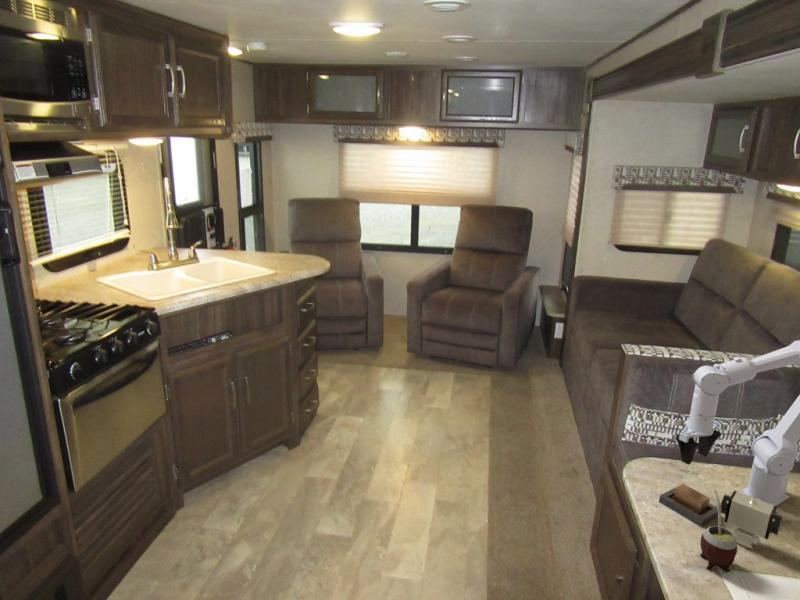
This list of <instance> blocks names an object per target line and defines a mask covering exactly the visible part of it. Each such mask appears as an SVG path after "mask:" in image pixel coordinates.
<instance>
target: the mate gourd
mask: <svg viewBox="0 0 800 600" xmlns="http://www.w3.org/2000/svg"><path fill="white" fill-rule="evenodd" d="M717 492H718V491H717V490H714V491H713V493H714V496H715V499H716V503H717V506H716V507H717V510H718V517H717V519H718V520H717V525H713V526H712V525H711V526H708V527H707V528H706V529H704V530H703V531H702V534H701V535H700V536H701V537H700V543H699V544H700V550H701V553H700V554H699V555H700V558H702V559H704V560H705V561H707V564H708V565H707V566H706V567H705V569H706V570H707V571H711V570H713V568H715V567H717V568H719V569H721V570H722V571H724V572H726V573H727V572H729V573H730V571H731V569H730V567H731V566H732V564H733V563H734V561H735V559H736V555H737V553H738V543H737V541H736V538H735V537H734V535H733V534H732V531H730V530H728V529H726V528H725V527H722V513H721V501H720V497H719V495H718V493H717Z"/></svg>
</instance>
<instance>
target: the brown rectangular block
mask: <svg viewBox="0 0 800 600" xmlns="http://www.w3.org/2000/svg"><path fill="white" fill-rule="evenodd" d="M674 488H675V493H674V498H673V500H674V501H676V502H678V503H679V504H681V505H683V506H685V507H686V508H688V509H690V510H691V511H693V512H695V513H697V514H698V515H700V516H701V515H703V514H704V513H706V512H707V510H708V505H709V503H710V497H709V496H707V495H705V494H703V493H701V492H699V491H697V490H695V489H694V488H692V487H690V486H688V485H687V484H685V483H682V484H681V485H678V486H676V487H674Z"/></svg>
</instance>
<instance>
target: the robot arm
mask: <svg viewBox="0 0 800 600" xmlns="http://www.w3.org/2000/svg"><path fill="white" fill-rule="evenodd" d="M787 366H796V367H800V339H799V340H794V341H792V342H791V343H790V344H789V345H788V346H785V347H782V348H779V349H776V350H774V351H770V352H768V353H765V354H763V355H760V356H757V357H754V358H751V359H750V358H746V357H742V356H741V357H739V356H736V357H735V356H734V357H733V359H732V360H729V361H726V362H722V363H715V364H713V366H712V365H702V366H700V367H698V368H697V369H696V370H695V372H694V373H692V380H693V381H694V383H695V385H694V391H693V395H692V400H691V401H692V402H691V407H690V412H689V416H688V417H689V418H688V419H687V420H685V421H684V422H683V425H685V427H684V429H683V430H682V431H681V432H680V433H679V434H676V437H675V440H676V443H677V444H678V447H679V450H680V451H679V452H680V459H681V463H685V464H687V465H688V466H689V465H691V463H692V462H693V458H694V456H695V453H696V451H697V453H698V454H699V455H701V456H703V457H708V455H709V453H710V451H711V449H712V448H713V445H714V444H715V443H716V442H717V440H718V439H719V438H720V437H721V435H722V432H720V431H718V430H719V426H720V421H717V420H716V415H717V408H718V404H719V399H720V398H719V397H720V395H721V393H723V392H724V391H725V390H726V389H727V388H729V387H730V386H734V385H738V384H742V383H745V382H747V381H752V380H754V378H755V377H756V375H757V374H758V373H762V372H766V371H770V370H775V369H778V368H783V367H787ZM694 438H698V442H697V441H695V439H694ZM798 441H800V394H799V395H798V396H797V397H796V399H795V400H794V402H793V403H792V404H791V406H790V407H789V408H788V410H787V411H786V413H785V414H784V415H783V417H782V418H781V419H780V421H779V422H778V423H777V425H776V426H775V428H771V429H767V430H764V432H763V434H761V435H760V436H758V437H756V438H755V439H754V440H753V441H752V443H751V451H752V453H753V454H754V458H753V462H752V466H751V471H750V475H749V479H748V485H747V486H746V487H745V488H743V489H742V490H740V491H739V492H740V493H742V494H745V495H748V496H750V497H751V496H754V498H756V499H758V498H760V499H761V501H764V502H766V503H769V504H772V505H774V506H777V507H778V505H780V504H781V503H783V502H784V501H786V500H787V499H789V497H790V496H789V495H788V494H786V492H787V489H788V488H787V487H788V484H789V481H790V472H791V471H792V470H793V468H794V465H795V461H796V460H795V459H797V457H798V455H799V453H798Z"/></svg>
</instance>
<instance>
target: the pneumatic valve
mask: <svg viewBox="0 0 800 600" xmlns="http://www.w3.org/2000/svg"><path fill="white" fill-rule="evenodd" d="M720 505H721V514H724V515H723V518H724V523H726V524H729V525H732V526H733V529H732V531H731V533H732V534H733V535H734V537H735V538H736V541H737V545H740V546H742V547H745V548H747V549H749V550H750V549H753V547H757V546H758V545H759V542H760V539H761V538H762V539H766V540H769V537H771V536H772V534H774V536H778V535H779V533H780V530H781V527H782V522H783V517H784V516H782V515H781V514H779V511H778V505H777V506H774V505H772V504H769V503H766V502H764V501H761V499H760V498H758V499H756V498H754V496H751V497H750V496H748V495H745V494H742V493H740V491H737V490H733V492H732V493H731V494H730V495H727V494H724V495H723V497H722V500H721V501H720Z"/></svg>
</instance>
